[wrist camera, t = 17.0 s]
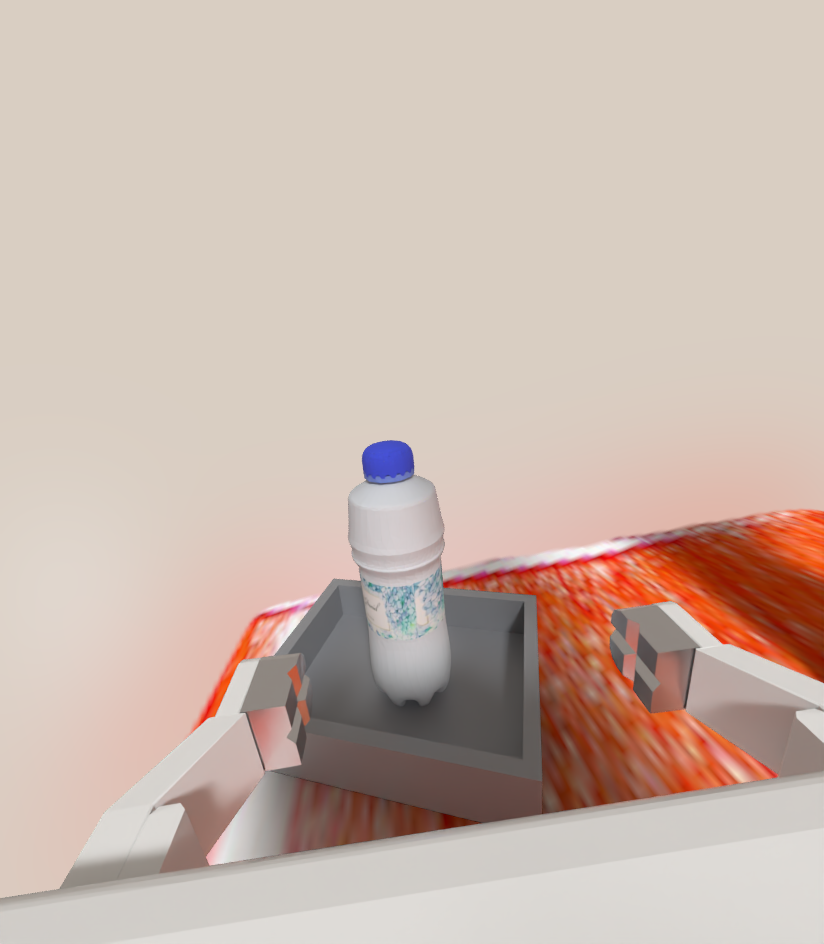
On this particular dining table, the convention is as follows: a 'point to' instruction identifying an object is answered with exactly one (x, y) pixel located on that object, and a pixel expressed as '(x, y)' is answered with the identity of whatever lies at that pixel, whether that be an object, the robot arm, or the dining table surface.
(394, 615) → the bottle
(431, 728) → the serving tray
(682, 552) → the dining table surface
